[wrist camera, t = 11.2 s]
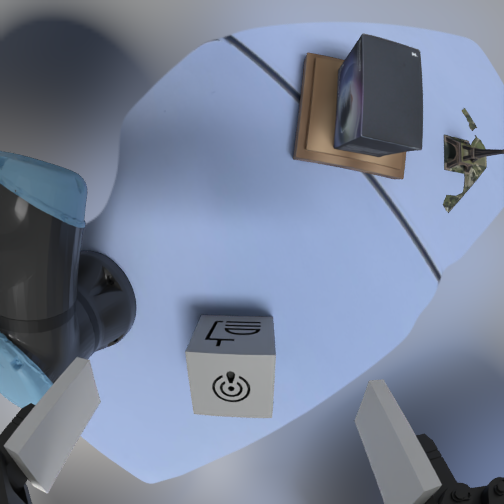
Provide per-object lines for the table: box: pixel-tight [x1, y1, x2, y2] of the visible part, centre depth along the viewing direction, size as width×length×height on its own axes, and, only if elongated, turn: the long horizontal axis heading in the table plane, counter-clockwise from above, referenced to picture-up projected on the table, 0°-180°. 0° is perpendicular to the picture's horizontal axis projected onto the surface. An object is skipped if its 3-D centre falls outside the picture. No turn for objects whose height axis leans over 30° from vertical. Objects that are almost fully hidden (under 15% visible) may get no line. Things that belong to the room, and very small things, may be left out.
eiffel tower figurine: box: [443, 108, 504, 213], centre depth 28 cm, size 15×10×13 cm
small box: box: [334, 33, 423, 157], centre depth 25 cm, size 11×6×10 cm, turn 175°
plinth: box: [293, 52, 406, 179], centre depth 32 cm, size 14×14×4 cm
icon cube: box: [185, 315, 276, 418], centre depth 37 cm, size 10×10×10 cm
